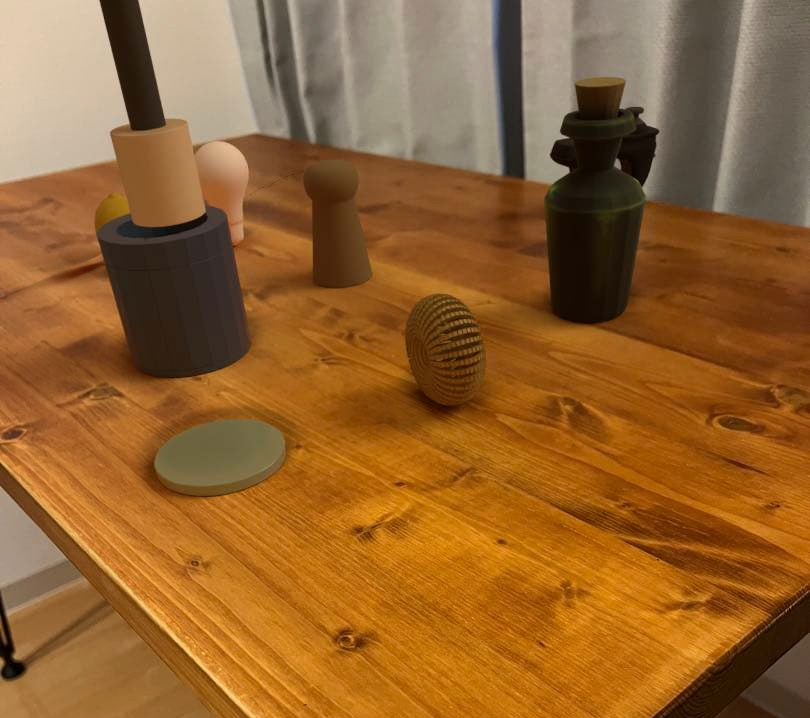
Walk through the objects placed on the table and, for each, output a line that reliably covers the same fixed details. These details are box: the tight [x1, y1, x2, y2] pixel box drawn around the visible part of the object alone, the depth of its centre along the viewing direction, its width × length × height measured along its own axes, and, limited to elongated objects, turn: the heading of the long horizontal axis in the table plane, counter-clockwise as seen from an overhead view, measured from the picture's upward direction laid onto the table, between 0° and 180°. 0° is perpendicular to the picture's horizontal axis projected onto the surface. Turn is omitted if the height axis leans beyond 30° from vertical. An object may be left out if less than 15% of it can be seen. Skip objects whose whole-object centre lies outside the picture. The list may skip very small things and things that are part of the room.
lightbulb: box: [194, 140, 250, 247], centre depth 96 cm, size 6×6×11 cm
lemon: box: [94, 191, 130, 243], centre depth 93 cm, size 6×6×8 cm
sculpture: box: [404, 292, 487, 407], centre depth 63 cm, size 8×4×8 cm, turn 24°
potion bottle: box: [543, 76, 647, 323], centre depth 72 cm, size 8×8×18 cm
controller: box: [549, 106, 660, 188], centre depth 97 cm, size 4×12×10 cm, turn 110°
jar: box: [96, 204, 252, 378], centre depth 73 cm, size 10×10×11 cm
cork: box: [302, 158, 373, 289], centre depth 85 cm, size 6×6×11 cm
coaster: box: [153, 418, 288, 497], centre depth 60 cm, size 9×9×1 cm
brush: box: [98, 0, 206, 227], centre depth 48 cm, size 4×4×17 cm
